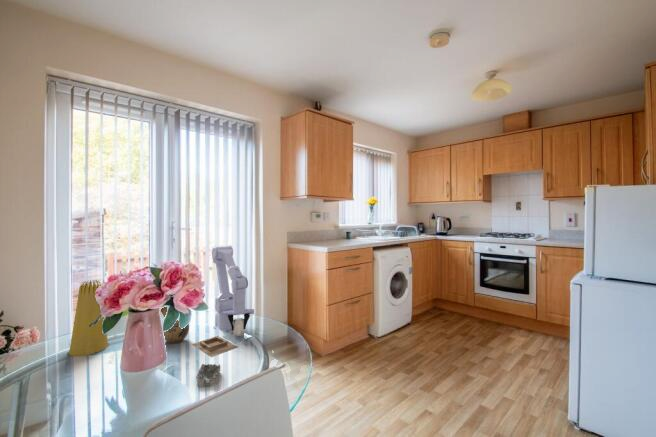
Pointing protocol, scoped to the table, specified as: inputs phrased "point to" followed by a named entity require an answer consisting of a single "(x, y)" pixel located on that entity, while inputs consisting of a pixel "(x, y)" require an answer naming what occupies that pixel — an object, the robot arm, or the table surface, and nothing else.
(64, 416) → the table surface
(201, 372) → the grey speckled lump
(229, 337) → the mat
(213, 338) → the tray
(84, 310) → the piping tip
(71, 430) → the table surface
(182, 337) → the ceramic vessel
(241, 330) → the jug
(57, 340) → the table surface
